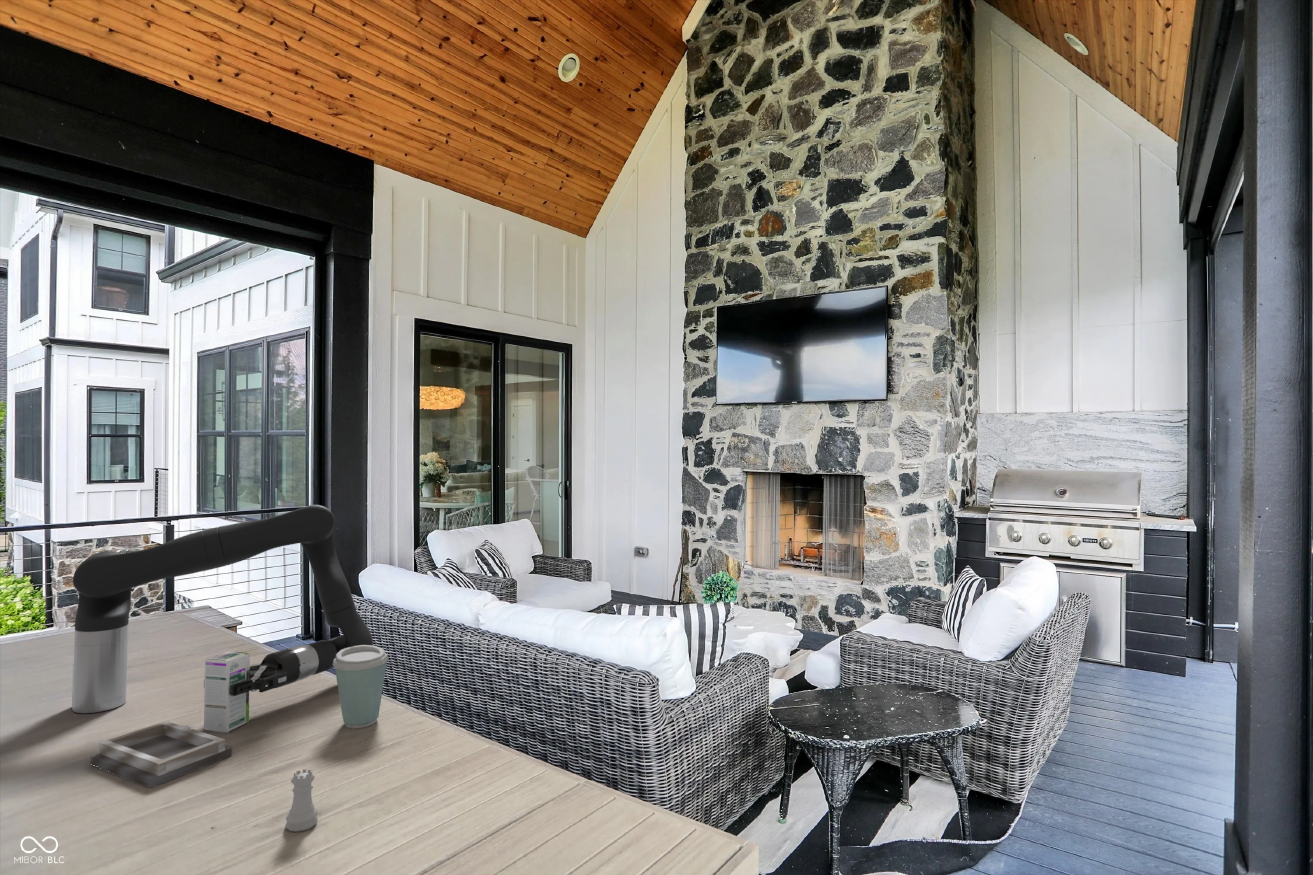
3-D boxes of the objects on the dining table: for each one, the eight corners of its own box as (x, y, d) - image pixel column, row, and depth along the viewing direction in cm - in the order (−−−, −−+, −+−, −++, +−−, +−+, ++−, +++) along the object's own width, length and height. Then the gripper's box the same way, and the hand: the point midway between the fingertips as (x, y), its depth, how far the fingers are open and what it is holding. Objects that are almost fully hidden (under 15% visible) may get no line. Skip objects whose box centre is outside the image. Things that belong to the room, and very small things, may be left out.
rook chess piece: (292, 817, 109) (294, 765, 110) (322, 816, 110) (323, 765, 110) (279, 833, 105) (281, 779, 105) (310, 832, 105) (312, 779, 105)
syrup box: (227, 733, 140) (229, 660, 140) (202, 730, 141) (204, 657, 141) (249, 722, 146) (251, 652, 146) (224, 719, 147) (227, 650, 147)
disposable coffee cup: (395, 723, 147) (397, 651, 147) (344, 738, 139) (346, 661, 139) (372, 709, 154) (374, 640, 154) (322, 722, 146) (324, 650, 146)
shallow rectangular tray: (90, 764, 125) (91, 745, 125) (173, 736, 138) (173, 718, 138) (150, 787, 118) (150, 766, 118) (231, 755, 130) (232, 736, 130)
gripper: (269, 644, 160) (196, 663, 145) (313, 653, 154) (241, 674, 139) (268, 677, 160) (195, 699, 145) (312, 687, 153) (240, 712, 139)
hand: (218, 687), depth 142 cm, fingers open, 8 cm apart
